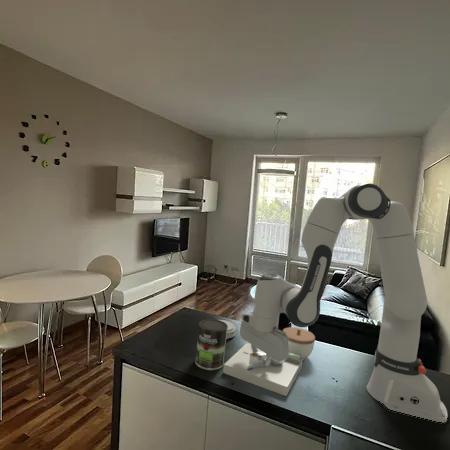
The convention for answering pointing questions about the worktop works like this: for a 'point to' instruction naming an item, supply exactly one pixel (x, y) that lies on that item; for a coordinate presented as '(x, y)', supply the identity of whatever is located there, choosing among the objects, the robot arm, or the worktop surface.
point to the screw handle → (261, 360)
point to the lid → (229, 329)
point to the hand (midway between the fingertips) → (260, 361)
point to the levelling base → (264, 371)
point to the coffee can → (211, 344)
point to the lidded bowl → (300, 341)
